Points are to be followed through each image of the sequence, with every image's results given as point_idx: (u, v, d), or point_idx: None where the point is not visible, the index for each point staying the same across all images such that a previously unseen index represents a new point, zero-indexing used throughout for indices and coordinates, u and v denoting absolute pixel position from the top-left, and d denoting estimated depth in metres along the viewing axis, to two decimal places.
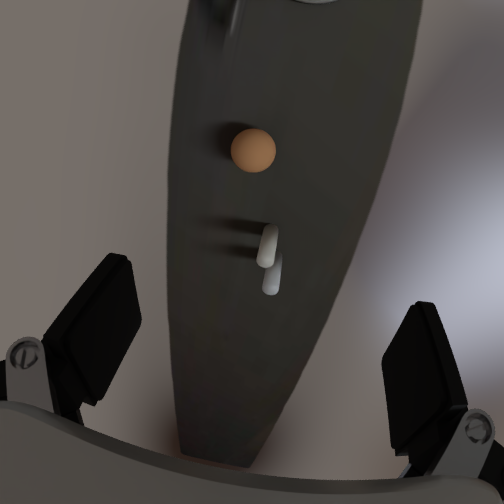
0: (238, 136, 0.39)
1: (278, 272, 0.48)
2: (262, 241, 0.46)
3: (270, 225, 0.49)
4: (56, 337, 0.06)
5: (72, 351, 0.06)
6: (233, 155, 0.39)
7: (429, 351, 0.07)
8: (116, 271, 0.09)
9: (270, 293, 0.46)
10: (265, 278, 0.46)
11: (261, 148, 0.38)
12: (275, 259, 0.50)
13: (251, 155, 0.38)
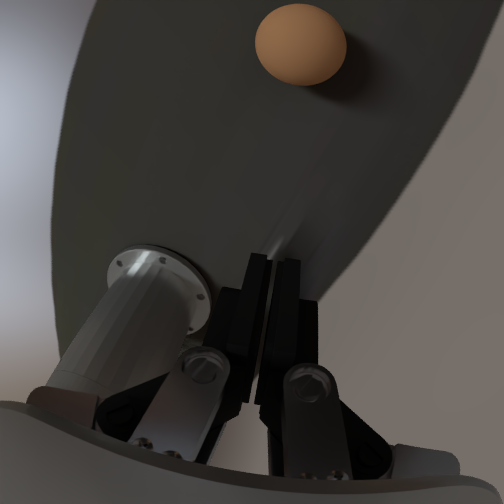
0: (318, 80, 0.17)
1: None
2: None
3: None
4: (244, 342, 0.07)
5: (255, 355, 0.07)
6: (339, 49, 0.15)
7: (272, 300, 0.08)
8: (267, 271, 0.09)
9: None
10: None
11: (274, 47, 0.15)
12: None
13: (297, 39, 0.14)
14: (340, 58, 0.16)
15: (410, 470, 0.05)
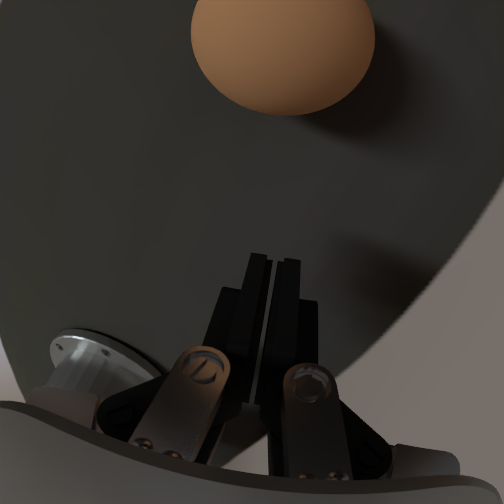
0: (319, 106, 0.09)
1: None
2: None
3: None
4: (244, 342, 0.07)
5: (255, 355, 0.07)
6: (364, 40, 0.07)
7: (272, 300, 0.08)
8: (267, 271, 0.09)
9: None
10: None
11: (219, 37, 0.07)
12: None
13: (271, 15, 0.06)
14: (365, 60, 0.07)
15: (410, 470, 0.05)
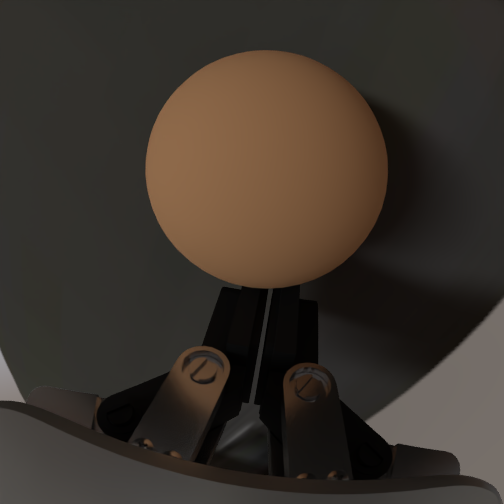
0: (314, 273, 0.07)
1: None
2: None
3: None
4: (244, 342, 0.07)
5: (255, 355, 0.07)
6: (379, 166, 0.06)
7: (272, 300, 0.08)
8: None
9: None
10: None
11: (173, 160, 0.05)
12: None
13: (247, 122, 0.05)
14: (379, 198, 0.06)
15: (411, 470, 0.05)
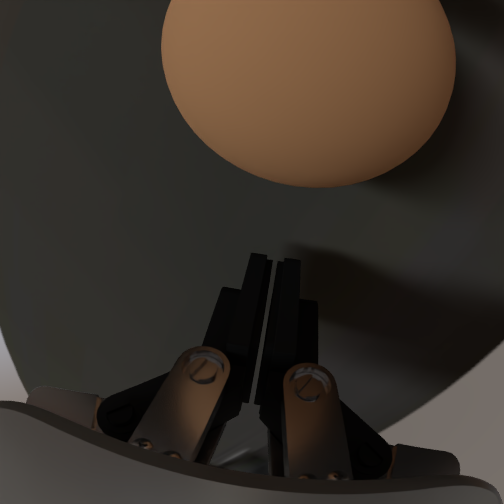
0: None
1: None
2: None
3: None
4: (245, 342, 0.07)
5: (255, 355, 0.07)
6: None
7: (272, 300, 0.08)
8: (267, 271, 0.09)
9: None
10: None
11: None
12: None
13: None
14: None
15: (411, 470, 0.05)
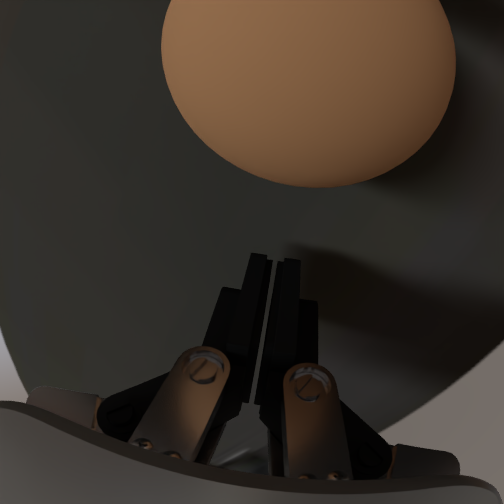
0: None
1: None
2: None
3: None
4: (245, 342, 0.07)
5: (255, 355, 0.07)
6: None
7: (272, 300, 0.08)
8: (267, 271, 0.09)
9: None
10: None
11: None
12: None
13: None
14: None
15: (411, 470, 0.05)
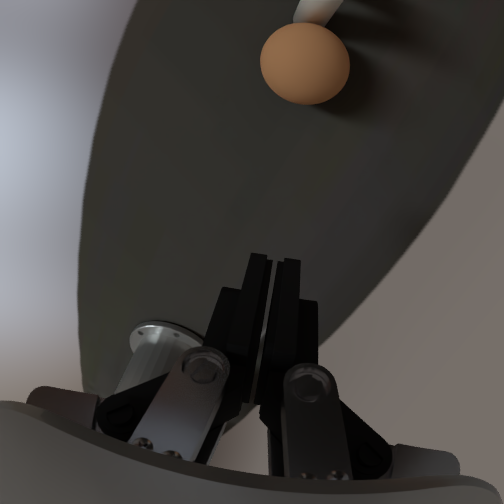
0: None
1: None
2: (337, 3, 0.13)
3: None
4: (244, 342, 0.07)
5: (255, 355, 0.07)
6: None
7: (272, 300, 0.08)
8: (267, 271, 0.09)
9: None
10: None
11: None
12: None
13: None
14: None
15: (410, 470, 0.05)
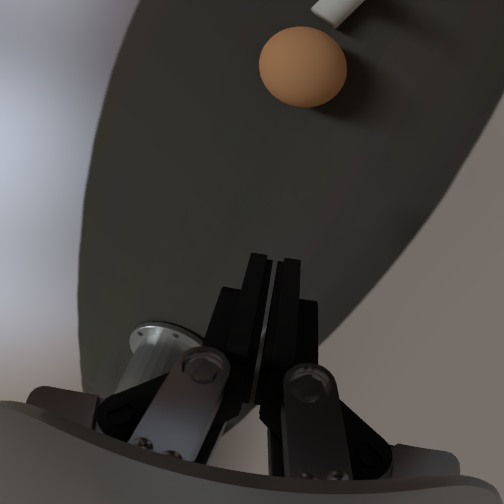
0: None
1: None
2: None
3: (339, 20, 0.17)
4: (244, 342, 0.07)
5: (255, 355, 0.07)
6: None
7: (272, 300, 0.08)
8: (267, 271, 0.09)
9: None
10: None
11: None
12: None
13: None
14: None
15: (411, 470, 0.05)
